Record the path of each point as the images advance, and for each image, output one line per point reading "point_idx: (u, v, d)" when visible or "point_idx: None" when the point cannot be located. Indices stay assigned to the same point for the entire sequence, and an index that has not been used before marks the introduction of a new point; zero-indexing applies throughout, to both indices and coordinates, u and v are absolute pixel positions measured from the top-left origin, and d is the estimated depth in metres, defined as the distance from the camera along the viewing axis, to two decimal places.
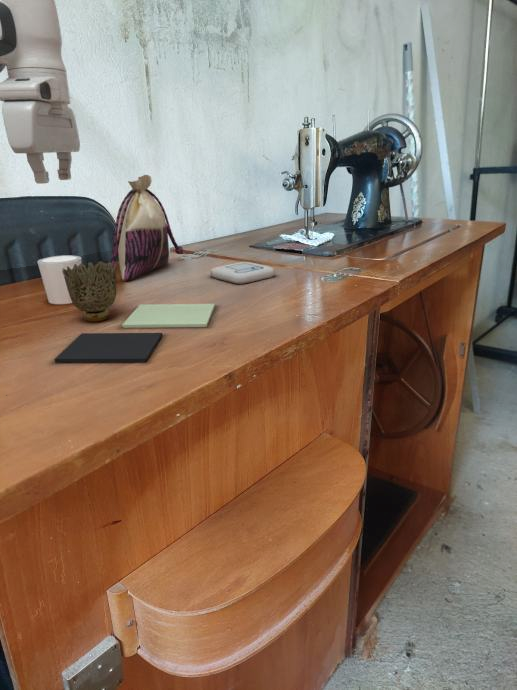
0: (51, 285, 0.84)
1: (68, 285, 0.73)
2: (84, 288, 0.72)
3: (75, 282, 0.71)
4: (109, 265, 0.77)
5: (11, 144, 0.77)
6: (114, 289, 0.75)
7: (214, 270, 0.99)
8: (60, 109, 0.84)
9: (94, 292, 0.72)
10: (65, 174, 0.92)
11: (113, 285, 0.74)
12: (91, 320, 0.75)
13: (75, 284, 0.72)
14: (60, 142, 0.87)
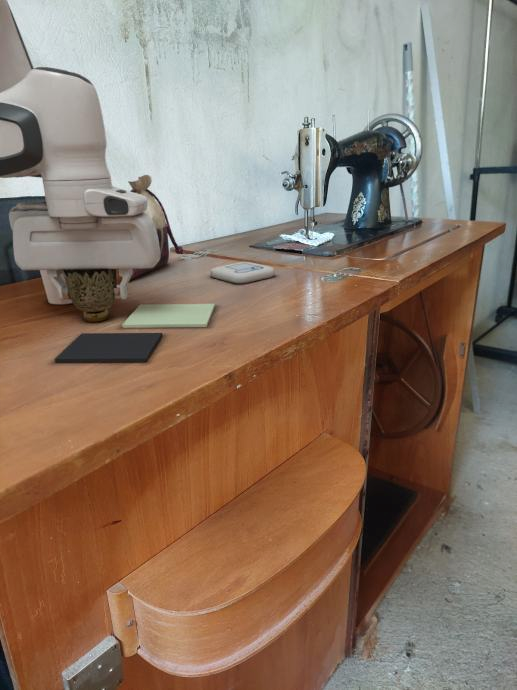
0: (51, 285, 0.84)
1: (68, 285, 0.73)
2: (84, 288, 0.72)
3: (75, 282, 0.71)
4: None
5: (156, 258, 0.72)
6: None
7: (214, 270, 0.99)
8: None
9: (94, 292, 0.72)
10: None
11: (113, 285, 0.74)
12: (91, 320, 0.75)
13: (75, 284, 0.72)
14: None
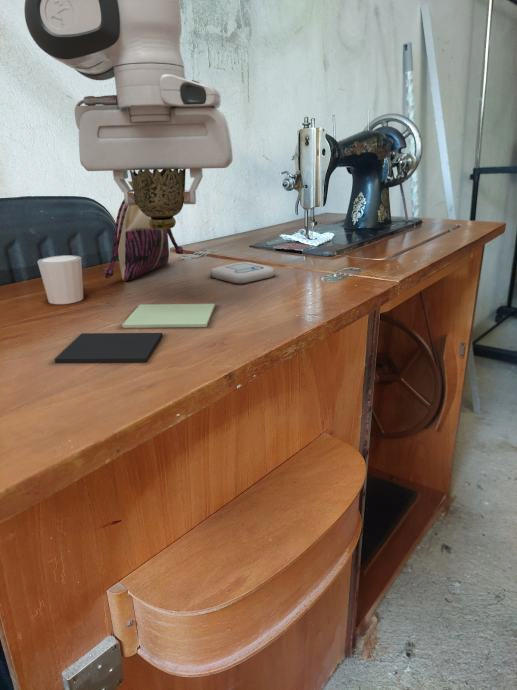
0: (51, 285, 0.84)
1: (137, 186, 0.68)
2: (155, 188, 0.67)
3: (145, 181, 0.67)
4: (176, 171, 0.73)
5: (230, 157, 0.68)
6: None
7: (214, 270, 0.99)
8: None
9: (165, 193, 0.68)
10: (135, 197, 0.72)
11: (183, 188, 0.70)
12: (158, 227, 0.71)
13: (145, 183, 0.67)
14: None
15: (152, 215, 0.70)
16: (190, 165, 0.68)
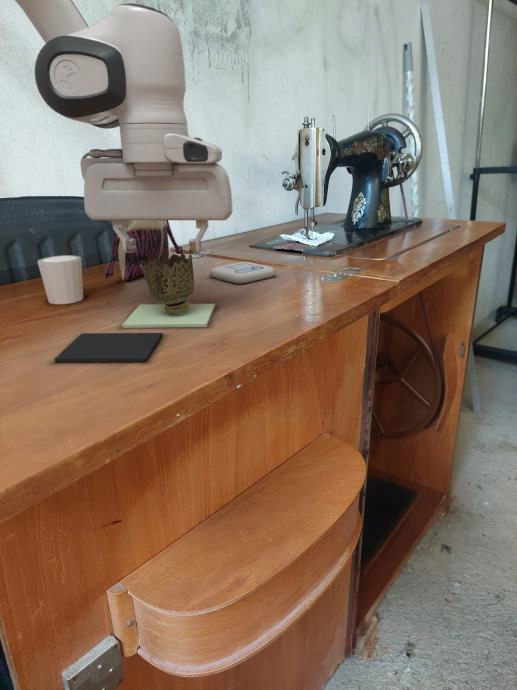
0: (51, 285, 0.84)
1: (149, 280, 0.73)
2: (165, 280, 0.72)
3: (155, 275, 0.72)
4: (183, 256, 0.77)
5: (230, 210, 0.70)
6: (192, 278, 0.75)
7: (214, 270, 0.99)
8: None
9: (175, 283, 0.72)
10: (133, 244, 0.74)
11: (191, 274, 0.74)
12: (174, 312, 0.75)
13: (156, 277, 0.72)
14: None
15: (166, 303, 0.74)
16: (191, 217, 0.70)
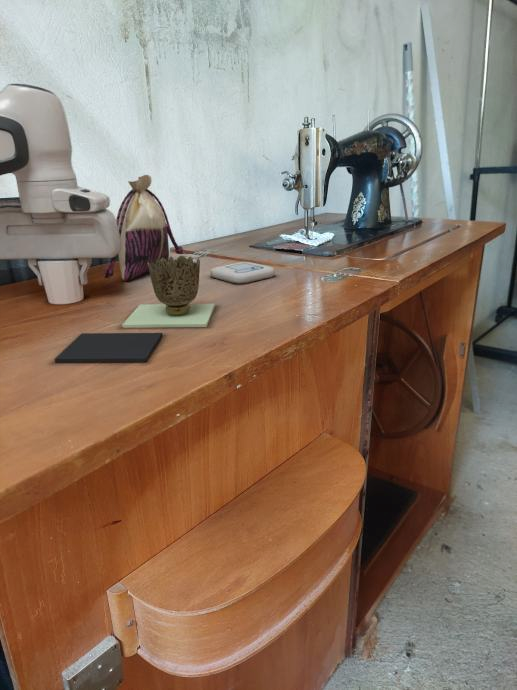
0: (51, 285, 0.84)
1: (154, 279, 0.73)
2: (171, 282, 0.72)
3: (162, 275, 0.72)
4: (190, 259, 0.77)
5: (116, 249, 0.83)
6: (198, 283, 0.75)
7: (214, 270, 0.99)
8: None
9: (181, 286, 0.72)
10: None
11: (197, 279, 0.74)
12: (174, 314, 0.75)
13: (162, 278, 0.72)
14: None
15: (168, 304, 0.74)
16: (83, 256, 0.83)
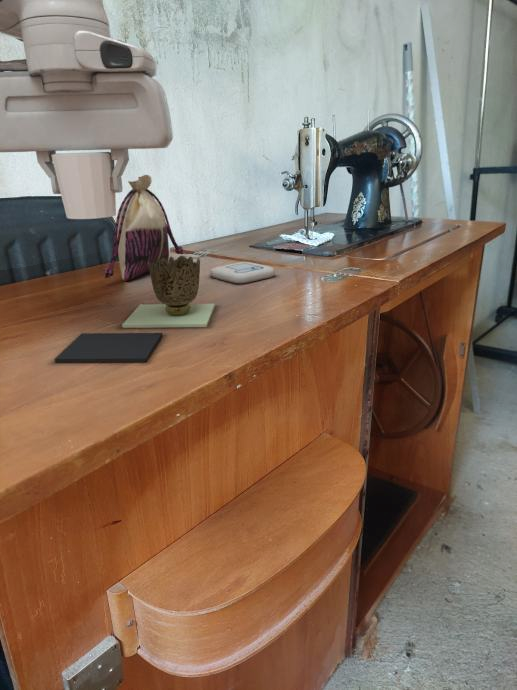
0: (71, 189, 0.57)
1: (154, 279, 0.73)
2: (171, 282, 0.72)
3: (162, 275, 0.72)
4: (191, 259, 0.77)
5: (167, 134, 0.56)
6: (198, 283, 0.75)
7: (214, 270, 0.99)
8: None
9: (181, 286, 0.72)
10: None
11: (197, 279, 0.74)
12: (174, 314, 0.75)
13: (162, 278, 0.72)
14: None
15: (168, 304, 0.74)
16: (119, 144, 0.56)
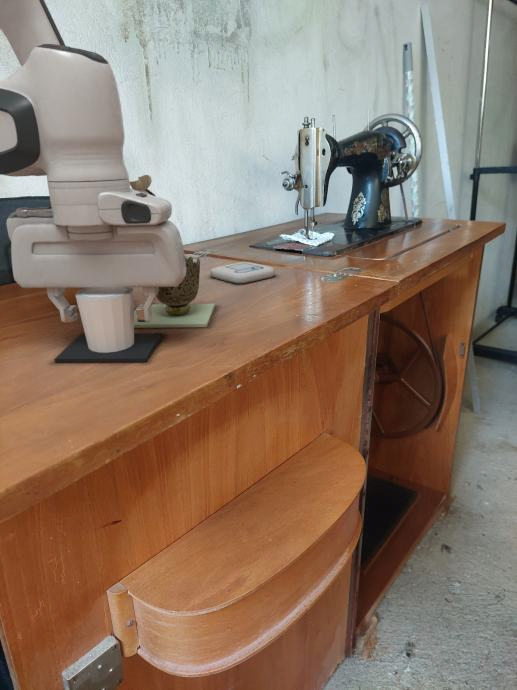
0: (94, 328, 0.61)
1: None
2: None
3: None
4: (191, 259, 0.77)
5: (182, 275, 0.60)
6: (198, 283, 0.75)
7: (214, 270, 0.99)
8: None
9: (181, 286, 0.72)
10: (74, 312, 0.64)
11: (197, 279, 0.74)
12: (174, 314, 0.75)
13: None
14: None
15: (168, 304, 0.74)
16: (137, 284, 0.60)
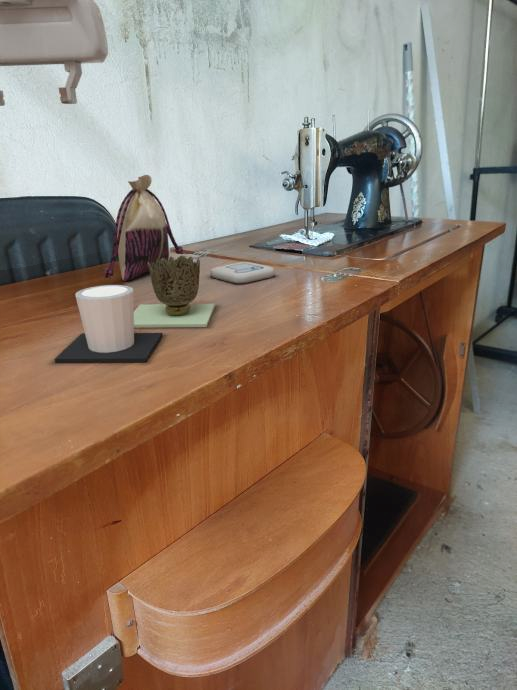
0: (94, 328, 0.61)
1: (154, 279, 0.73)
2: (171, 282, 0.72)
3: (162, 275, 0.72)
4: (191, 259, 0.77)
5: (100, 46, 0.62)
6: (198, 283, 0.75)
7: (214, 270, 0.99)
8: None
9: (181, 286, 0.72)
10: (0, 97, 0.66)
11: (197, 279, 0.74)
12: (174, 314, 0.75)
13: (162, 278, 0.72)
14: None
15: (168, 304, 0.74)
16: (57, 56, 0.62)
